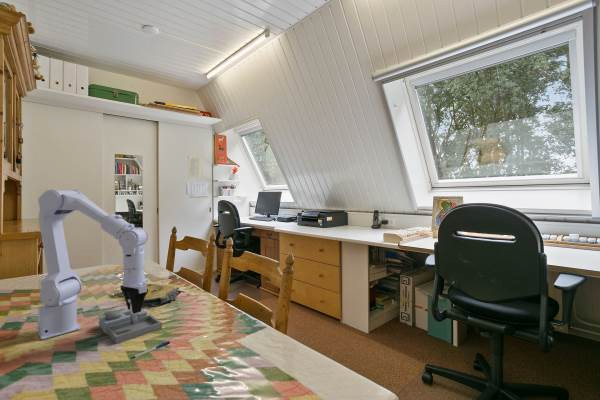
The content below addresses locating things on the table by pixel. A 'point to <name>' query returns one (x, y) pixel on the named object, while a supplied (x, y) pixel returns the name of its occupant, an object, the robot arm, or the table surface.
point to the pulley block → (159, 294)
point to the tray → (133, 329)
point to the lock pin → (133, 315)
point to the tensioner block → (116, 318)
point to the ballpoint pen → (151, 349)
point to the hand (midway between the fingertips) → (134, 310)
